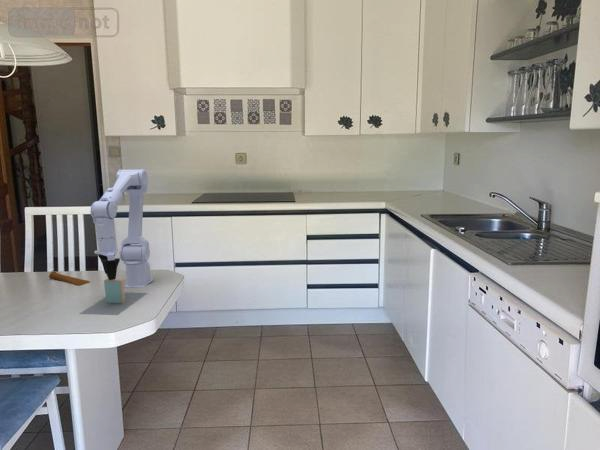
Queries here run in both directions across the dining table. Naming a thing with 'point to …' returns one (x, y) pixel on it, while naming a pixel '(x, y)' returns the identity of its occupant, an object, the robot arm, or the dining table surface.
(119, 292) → the tile
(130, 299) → the mat
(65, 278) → the primitive tool
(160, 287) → the dining table surface
